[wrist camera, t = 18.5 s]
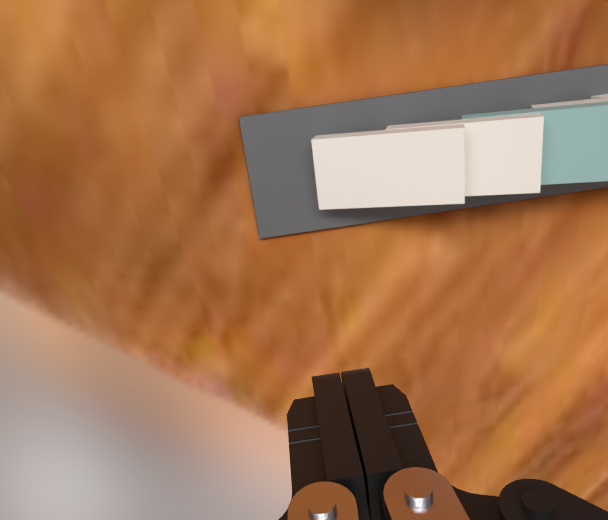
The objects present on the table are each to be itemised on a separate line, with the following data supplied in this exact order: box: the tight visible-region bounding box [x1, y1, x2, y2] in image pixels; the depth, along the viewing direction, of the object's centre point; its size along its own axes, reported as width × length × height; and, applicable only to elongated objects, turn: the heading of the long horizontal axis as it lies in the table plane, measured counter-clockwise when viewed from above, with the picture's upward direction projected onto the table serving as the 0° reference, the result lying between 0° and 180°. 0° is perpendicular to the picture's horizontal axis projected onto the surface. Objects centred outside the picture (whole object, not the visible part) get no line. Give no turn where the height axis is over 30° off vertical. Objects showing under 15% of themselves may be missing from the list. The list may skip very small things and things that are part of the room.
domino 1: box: [311, 123, 465, 210], centre depth 36 cm, size 2×5×10 cm
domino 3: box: [462, 101, 608, 185], centre depth 36 cm, size 2×5×10 cm
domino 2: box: [385, 113, 544, 196], centre depth 36 cm, size 2×5×10 cm
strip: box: [239, 64, 608, 239], centre depth 39 cm, size 30×9×1 cm, turn 97°
